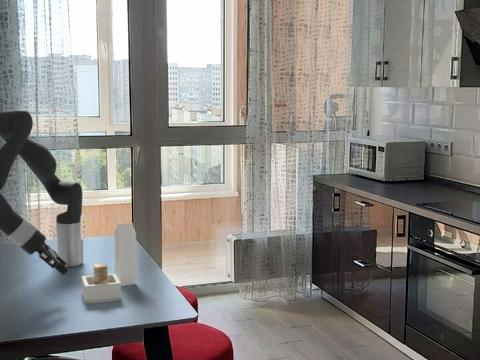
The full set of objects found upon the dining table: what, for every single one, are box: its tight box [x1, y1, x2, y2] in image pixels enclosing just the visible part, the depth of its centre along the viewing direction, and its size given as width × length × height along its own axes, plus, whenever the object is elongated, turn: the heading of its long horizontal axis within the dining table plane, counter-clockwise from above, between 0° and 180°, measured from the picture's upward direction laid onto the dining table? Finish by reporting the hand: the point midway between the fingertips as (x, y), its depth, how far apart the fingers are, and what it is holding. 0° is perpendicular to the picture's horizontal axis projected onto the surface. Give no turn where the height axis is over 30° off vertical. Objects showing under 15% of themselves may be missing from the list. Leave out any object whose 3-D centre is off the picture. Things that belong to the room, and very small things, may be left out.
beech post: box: [93, 263, 108, 284], centre depth 204 cm, size 4×4×10 cm
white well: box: [81, 273, 122, 305], centre depth 204 cm, size 11×11×6 cm
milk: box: [114, 222, 137, 287], centre depth 219 cm, size 6×6×22 cm
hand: (65, 269), depth 199 cm, fingers open, 8 cm apart
